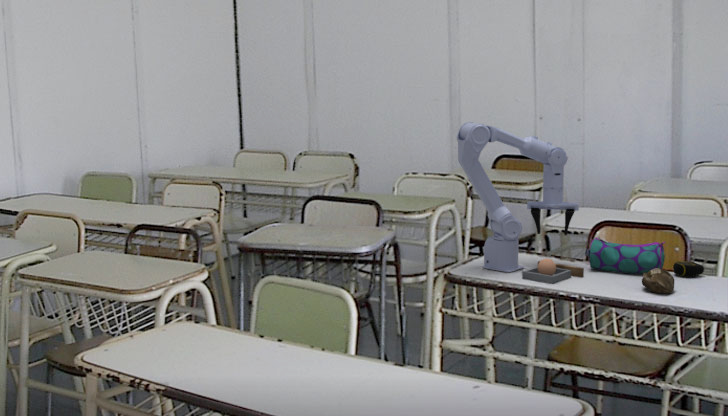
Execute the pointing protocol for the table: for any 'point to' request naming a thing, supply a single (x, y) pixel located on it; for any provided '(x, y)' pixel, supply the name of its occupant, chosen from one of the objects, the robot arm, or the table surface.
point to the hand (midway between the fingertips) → (552, 233)
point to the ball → (547, 267)
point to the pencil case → (625, 256)
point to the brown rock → (658, 281)
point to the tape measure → (687, 268)
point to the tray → (536, 276)
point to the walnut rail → (574, 270)
